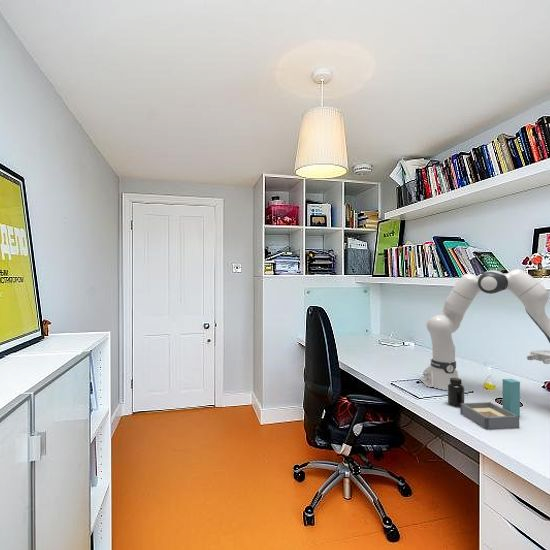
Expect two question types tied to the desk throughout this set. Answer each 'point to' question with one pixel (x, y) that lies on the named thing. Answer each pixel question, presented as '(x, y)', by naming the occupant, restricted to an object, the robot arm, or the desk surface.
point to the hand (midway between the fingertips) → (535, 359)
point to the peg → (511, 396)
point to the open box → (489, 415)
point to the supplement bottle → (455, 392)
